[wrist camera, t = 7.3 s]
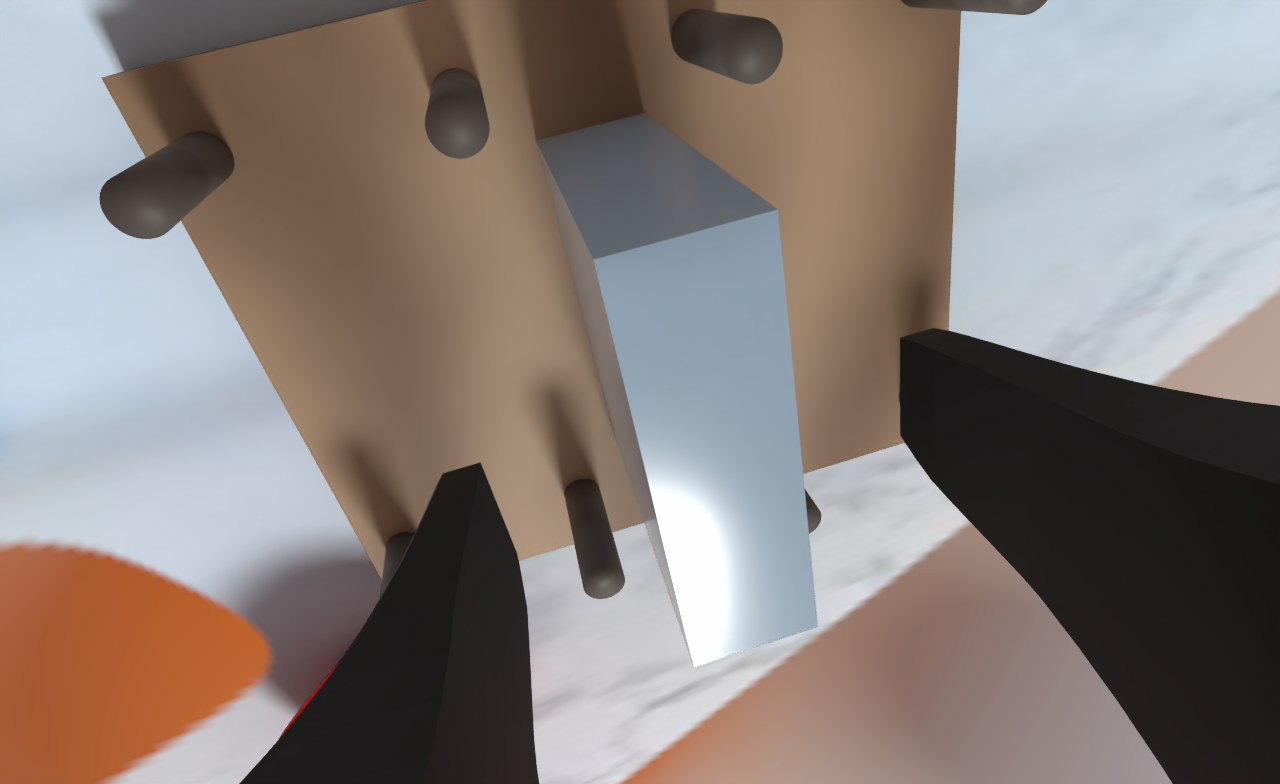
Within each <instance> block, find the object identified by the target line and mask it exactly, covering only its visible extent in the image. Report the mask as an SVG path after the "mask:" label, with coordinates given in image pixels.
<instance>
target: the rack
mask: <svg viewBox="0 0 1280 784" xmlns="http://www.w3.org/2000/svg"><path fill="white" fill-rule="evenodd" d="M1046 1H1047V0H424V1H420V2H416V3H411V4H407V5H403V6H399V7H394V8H390V9H386V10H382V11H378V12H373V13H369V14H365V15H361V16H356V17H352V18H348V19H344V20H339V21H335V22H331V23H327V24H323V25H318V26H314V27H310V28H306V29H301V30H297V31H293V32H289V33H284V34H280V35H276V36H272V37H268V38H263V39H259V40H255V41H251V42H246V43H242V44H238V45H234V46H229V47H225V48H221V49H217V50H213V51H208V52H204V53H200V54H196V55H191V56H187V57H183V58H179V59H174V60H170V61H166V62H162V63H158V64H153V65H149V66H145V67H141V68H136V69H132V70H128V71H124V72H120V73H117V74H113V75H110V76H106V77H103V78H102V80H103V82H104V83H105V85H106V87H107V89H108V90H109V92H110V94H111V96H112V98H113V99H114V101H115V103H116V105H117V107H118V108H119V110H120V112H121V114H122V116H123V117H124V119H125V121H126V123H127V124H128V126H129V128H130V130H131V132H132V133H133V135H134V137H135V139H136V141H137V142H138V144H139V146H140V148H141V150H142V151H143V153H144V155H145V157H146V158H145V159H143V160H141V161H140V162H138V163H136V164H134V165H133V166H131V167H129V168H128V169H126V170H124V171H123V172H121V173H119V174H117V175H116V176H114V177H112V178H111V179H109V180H108V181H107V182H106V183H105V184H104V186H103V187H102V189H101V192H100V205H101V208H102V211H103V213H104V215H105V216H106V218H107V219H108V220H109V222H110V223H111V224H112V225H113V226H115V227H116V228H117V229H118V230H120V231H122V232H123V233H125V234H127V235H130V236H132V237H136V238H142V239H152V238H157V237H160V236H162V235H164V234H165V233H167V232H168V231H169V230H170V229H171V228H173V227H174V226H175V225H176V224H177V223H178V222H179V221H180V220H181V221H182V223H183V225H184V227H185V228H186V230H187V232H188V234H189V236H190V237H191V239H192V241H193V243H194V244H195V246H196V248H197V250H198V252H199V253H200V255H201V257H202V259H203V261H204V262H205V264H206V266H207V268H208V270H209V271H210V273H211V275H212V277H213V278H214V280H215V282H216V284H217V286H218V287H219V289H220V291H221V293H222V295H223V296H224V298H225V300H226V302H227V304H228V305H229V307H230V309H231V311H232V313H233V314H234V316H235V318H236V320H237V321H238V323H239V325H240V327H241V329H242V330H243V332H244V334H245V336H246V338H247V339H248V341H249V343H250V345H251V347H252V348H253V350H254V352H255V354H256V355H257V357H258V359H259V361H260V363H261V364H262V366H263V368H264V370H265V372H266V373H267V375H268V377H269V379H270V381H271V382H272V384H273V386H274V388H275V390H276V391H277V393H278V395H279V397H280V398H281V400H282V402H283V404H284V406H285V407H286V409H287V411H288V413H289V415H290V416H291V418H292V420H293V422H294V424H295V425H296V427H297V429H298V431H299V432H300V434H301V436H302V438H303V440H304V441H305V443H306V445H307V447H308V449H309V450H310V452H311V454H312V456H313V458H314V459H315V461H316V463H317V465H318V467H319V468H320V470H321V472H322V474H323V475H324V477H325V479H326V481H327V483H328V484H329V486H330V488H331V490H332V492H333V493H334V495H335V497H336V499H337V501H338V502H339V504H340V506H341V508H342V509H343V511H344V513H345V515H346V517H347V518H348V520H349V522H350V524H351V526H352V527H353V529H354V531H355V533H356V535H357V536H358V538H359V540H360V542H361V544H362V545H363V547H364V549H365V551H366V552H367V554H368V556H369V558H370V560H371V561H372V563H373V565H374V567H375V569H376V570H377V572H378V574H379V576H380V578H381V579H382V584H381V592H380V598H381V596H382V594H383V592H384V591H385V589H386V587H387V585H388V584H389V582H390V580H391V578H392V577H393V575H394V573H395V571H396V569H397V567H398V565H399V563H400V561H401V559H402V557H403V555H404V553H405V551H406V549H407V547H408V545H409V543H410V541H411V540H412V538H413V536H414V533H415V531H416V529H417V527H418V525H419V523H420V521H421V519H422V516H423V514H424V512H425V510H426V508H427V505H428V503H429V501H430V499H431V497H432V494H433V492H434V490H435V488H436V485H437V483H438V481H439V479H440V478H441V476H442V474H443V473H446V472H449V471H453V470H456V469H459V468H463V467H466V466H470V465H473V464H476V463H480V462H481V465H482V467H483V470H484V472H485V475H486V477H487V480H488V482H489V485H490V487H491V490H492V492H493V494H494V497H495V499H496V502H497V504H498V507H499V509H500V512H501V514H502V517H503V519H504V522H505V524H506V527H507V529H508V532H509V534H510V537H511V539H512V542H513V544H514V547H515V549H516V552H517V555H518V560H519V561H520V560H524V559H527V558H530V557H533V556H537V555H540V554H543V553H546V552H550V551H553V550H556V549H559V548H563V547H566V546H569V545H572V544H574V545H575V549H576V554H577V559H578V564H579V569H580V573H581V578H582V583H583V588H584V591H585V593H586V594H587V595H589V596H590V597H592V598H596V599H604V598H609V597H611V596H614V595H615V594H617V593H618V592H619V591H620V590H621V589H622V588H623V586H624V583H625V577H624V574H623V570H622V566H621V563H620V559H619V556H618V552H617V549H616V545H615V541H614V538H613V534H612V532H615V531H618V530H621V529H625V528H628V527H631V526H634V525H638V524H641V523H644V521H643V518H642V515H641V512H640V509H639V506H638V503H637V500H636V497H635V494H634V492H633V489H632V486H631V483H630V480H629V477H628V474H627V471H626V468H625V465H624V462H623V460H622V457H621V454H620V451H619V448H618V445H617V442H616V439H615V435H614V431H613V427H612V424H611V420H610V416H609V412H608V409H607V405H606V401H605V398H604V394H603V390H602V386H601V383H600V379H599V375H598V371H597V368H596V364H595V360H594V356H593V353H592V349H591V345H590V341H589V338H588V334H587V330H586V326H585V323H584V319H583V315H582V311H581V308H580V304H579V300H578V296H577V293H576V289H575V285H574V281H573V278H572V274H571V270H570V267H569V263H568V259H567V255H566V252H565V248H564V244H563V240H562V237H561V233H560V229H559V225H558V222H557V218H556V214H555V210H554V207H553V203H552V199H551V195H550V192H549V188H548V184H547V180H546V177H545V173H544V169H543V165H542V162H541V158H540V154H539V150H538V147H537V143H536V141H537V140H541V139H544V138H548V137H552V136H556V135H560V134H564V133H568V132H572V131H576V130H580V129H583V128H587V127H591V126H595V125H599V124H603V123H607V122H611V121H615V120H619V119H622V118H626V117H630V116H634V115H638V114H642V113H646V114H647V115H649V116H650V117H651V118H653V119H654V120H656V121H657V122H658V123H660V124H661V125H662V126H664V127H665V128H667V129H668V130H669V131H671V132H672V133H673V134H675V135H676V136H678V137H679V138H680V139H682V140H683V141H684V142H686V143H687V144H689V145H690V146H691V147H693V148H694V149H695V150H697V151H698V152H700V153H701V154H702V155H704V156H705V157H706V158H708V159H709V160H711V161H712V162H713V163H715V164H716V165H717V166H719V167H720V168H722V169H723V170H724V171H726V172H727V173H728V174H730V175H731V176H733V177H734V178H735V179H737V180H738V181H739V182H741V183H742V184H744V185H745V186H746V187H748V188H749V189H750V190H752V191H753V192H755V193H756V194H757V195H759V196H760V197H761V198H763V199H764V200H766V201H767V202H768V203H770V204H771V205H772V206H774V207H775V208H777V209H778V216H779V226H780V237H781V247H782V258H783V268H784V279H785V289H786V300H787V310H788V321H789V331H790V341H791V352H792V362H793V373H794V383H795V394H796V404H797V415H798V425H799V436H800V446H801V457H802V467H803V474H804V473H807V472H811V471H814V470H817V469H820V468H824V467H827V466H830V465H834V464H837V463H840V462H843V461H847V460H850V459H853V458H856V457H860V456H863V455H866V454H869V453H873V452H876V451H879V450H882V449H886V448H889V447H892V446H896V445H899V444H902V443H905V442H904V440H903V439H902V437H901V436H900V338H901V337H904V336H907V335H911V334H914V333H918V332H921V331H924V330H928V329H931V328H938V329H942V330H947V331H948V329H949V303H950V278H951V252H952V226H953V200H954V175H955V149H956V123H957V97H958V72H959V46H960V20H961V11H974V12H988V13H1002V14H1017V15H1026V14H1030V13H1033V12H1035V11H1036V10H1038V9H1039V8H1040V7H1042V6H1043V5H1044V4H1045V2H1046ZM805 498H806V509H807V519H808V530H809V534H810V533H811V532H813V531H814V530H815V529H816V528H817V527H818V525H819V523H820V521H821V512H820V510H819V509H818V507H817V506H816V504H815V503H814V502H813V500H812V499H811V497H810V496H809V494H808V493H807V491H806V490H805Z"/></svg>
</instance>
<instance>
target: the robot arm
mask: <svg viewBox="0 0 1280 784" xmlns="http://www.w3.org/2000/svg"><path fill="white" fill-rule="evenodd" d="M900 436H901V437H902V439H903V440H904V442H905V443H906V445H907V446H908V448H909V449H910V451H911V452H912V454H913V455H914V457H915V458H916V460H917V461H918V462H919V464H920V465H921V466H922V468H923V469H924V471H925V472H926V473H927V475H928V476H929V477H930V479H931V480H932V481H933V482H934V483H935V485H936V486H937V487H938V488H939V489H940V490H941V491H942V492H943V493H944V494H945V496H946V497H947V498H948V499H949V500H950V501H951V502H952V503H953V504H954V505H955V506H956V507H957V508H958V509H959V511H960V512H961V513H962V514H963V515H964V516H965V517H966V518H967V519H968V520H969V521H970V522H971V523H972V524H973V525H974V526H975V527H976V528H977V530H979V532H980V533H981V534H982V535H983V536H984V537H985V538H986V539H987V540H988V541H989V542H990V543H991V544H992V545H993V546H994V547H995V548H996V550H998V552H999V553H1000V554H1001V555H1002V556H1003V557H1004V558H1005V559H1006V560H1007V561H1008V562H1009V563H1010V564H1011V565H1012V566H1013V567H1014V568H1015V569H1016V571H1017V572H1018V573H1019V574H1020V575H1021V576H1022V577H1023V578H1024V579H1025V580H1026V582H1028V584H1029V585H1030V586H1031V587H1032V588H1033V590H1034V591H1035V592H1036V593H1037V594H1038V595H1039V596H1040V598H1041V599H1042V600H1043V602H1044V603H1045V604H1046V605H1047V607H1048V608H1049V609H1050V611H1051V612H1052V613H1053V615H1054V616H1055V617H1056V618H1057V619H1058V621H1059V622H1060V624H1061V625H1062V626H1063V628H1064V629H1065V630H1066V631H1067V633H1068V634H1069V635H1070V637H1071V638H1072V639H1073V640H1074V642H1075V643H1076V644H1077V646H1078V647H1079V648H1080V650H1081V651H1082V653H1083V654H1084V655H1085V657H1086V658H1087V660H1088V661H1089V662H1090V664H1091V665H1092V666H1093V668H1094V669H1095V671H1096V672H1097V673H1098V675H1099V676H1100V677H1101V679H1102V680H1103V682H1104V683H1105V684H1106V686H1107V687H1108V688H1109V690H1110V691H1111V693H1112V694H1113V695H1114V697H1115V698H1116V699H1117V701H1118V702H1119V704H1120V705H1121V707H1122V708H1123V710H1124V711H1125V713H1126V714H1127V716H1128V717H1129V719H1130V720H1131V722H1132V723H1133V724H1134V726H1135V728H1136V729H1137V731H1138V732H1139V733H1140V735H1141V736H1142V738H1143V739H1144V741H1145V742H1146V744H1147V745H1148V747H1149V748H1150V750H1151V751H1152V753H1153V754H1154V756H1155V757H1156V759H1157V760H1158V761H1159V763H1160V765H1161V766H1162V768H1163V769H1164V770H1165V772H1166V774H1167V775H1168V777H1169V779H1170V780H1171V782H1172V783H1173V784H1280V406H1276V405H1267V404H1259V403H1251V402H1243V401H1237V400H1230V399H1223V398H1217V397H1211V396H1206V395H1200V394H1194V393H1189V392H1184V391H1178V390H1172V389H1167V388H1162V387H1157V386H1152V385H1148V384H1143V383H1138V382H1134V381H1130V380H1126V379H1122V378H1118V377H1113V376H1109V375H1105V374H1101V373H1097V372H1093V371H1089V370H1085V369H1082V368H1078V367H1074V366H1070V365H1067V364H1063V363H1060V362H1056V361H1052V360H1049V359H1045V358H1042V357H1039V356H1035V355H1032V354H1028V353H1025V352H1021V351H1018V350H1015V349H1011V348H1008V347H1005V346H1001V345H998V344H994V343H991V342H988V341H984V340H981V339H977V338H974V337H970V336H967V335H963V334H959V333H955V332H951V331H947V330H942V329H938V328H931V329H928V330H924V331H921V332H918V333H914V334H911V335H907V336H904V337H901V338H900ZM240 784H539V780H538V773H537V765H536V755H535V744H534V730H533V709H532V689H531V669H530V650H529V631H528V614H527V605H526V599H525V593H524V587H523V582H522V576H521V571H520V565H519V560H518V555H517V552H516V549H515V547H514V544H513V542H512V539H511V537H510V534H509V532H508V529H507V527H506V524H505V522H504V519H503V517H502V514H501V512H500V509H499V507H498V504H497V502H496V499H495V497H494V494H493V492H492V490H491V487H490V485H489V482H488V480H487V477H486V475H485V472H484V470H483V467H482V465H481V462H480V463H476V464H473V465H470V466H466V467H463V468H459V469H456V470H453V471H449V472H446V473H443V474H442V476H441V478H440V479H439V481H438V483H437V485H436V488H435V490H434V492H433V494H432V497H431V499H430V501H429V503H428V505H427V508H426V510H425V512H424V514H423V516H422V519H421V521H420V523H419V525H418V527H417V529H416V531H415V533H414V536H413V538H412V540H411V541H410V543H409V545H408V547H407V549H406V551H405V553H404V555H403V557H402V559H401V561H400V563H399V565H398V567H397V569H396V571H395V573H394V575H393V577H392V578H391V580H390V582H389V584H388V585H387V587H386V589H385V591H384V592H383V594H382V596H381V598H380V599H379V601H378V603H377V604H376V606H375V608H374V610H373V611H372V613H371V615H370V617H369V618H368V620H367V622H366V623H365V625H364V626H363V628H362V630H361V631H360V633H359V634H358V636H357V637H356V639H355V640H354V642H353V643H352V645H351V646H350V648H349V650H348V651H347V652H346V654H345V655H344V657H343V658H342V659H341V661H340V662H339V664H338V665H337V667H336V668H335V669H334V671H333V672H332V674H331V675H330V676H329V678H328V679H327V680H326V682H325V683H324V684H323V686H322V687H321V688H320V689H319V691H318V692H317V693H316V694H315V696H314V697H313V698H312V699H311V701H310V702H309V703H308V704H307V705H306V707H305V708H304V709H303V710H302V712H301V713H300V714H299V715H298V717H297V718H296V719H295V720H294V721H293V723H292V724H291V725H290V726H289V728H288V729H287V730H286V731H285V733H284V734H283V735H282V736H281V737H280V739H279V740H278V741H277V742H276V744H275V745H274V746H273V747H272V748H271V749H270V750H269V752H268V753H267V754H266V755H265V756H264V757H263V758H262V759H261V760H260V762H259V763H258V764H257V765H256V766H255V767H254V768H253V769H252V770H251V772H250V773H249V774H248V775H247V776H246V777H245V778H244V779H243V780H242V781H241V783H240Z"/></svg>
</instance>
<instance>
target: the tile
mask: <svg viewBox="0 0 1280 784" xmlns="http://www.w3.org/2000/svg"><path fill="white" fill-rule="evenodd" d="M536 143H537V147H538V150H539V154H540V158H541V162H542V165H543V169H544V173H545V177H546V180H547V184H548V188H549V192H550V195H551V199H552V203H553V207H554V210H555V214H556V218H557V222H558V225H559V229H560V233H561V237H562V240H563V244H564V248H565V252H566V255H567V259H568V263H569V267H570V270H571V274H572V278H573V281H574V285H575V289H576V293H577V296H578V300H579V304H580V308H581V311H582V315H583V319H584V323H585V326H586V330H587V334H588V338H589V341H590V345H591V349H592V353H593V356H594V360H595V364H596V368H597V371H598V375H599V379H600V383H601V386H602V390H603V394H604V398H605V401H606V405H607V409H608V412H609V416H610V420H611V424H612V427H613V431H614V435H615V439H616V442H617V445H618V448H619V451H620V454H621V457H622V460H623V462H624V465H625V468H626V471H627V474H628V477H629V480H630V483H631V486H632V489H633V492H634V494H635V497H636V500H637V503H638V506H639V509H640V512H641V515H642V518H643V521H644V524H645V527H646V529H647V532H648V535H649V538H650V541H651V544H652V547H653V550H654V553H655V556H656V559H657V561H658V564H659V567H660V570H661V573H662V576H663V579H664V582H665V585H666V588H667V591H668V593H669V596H670V599H671V602H672V605H673V608H674V611H675V614H676V617H677V620H678V623H679V625H680V628H681V631H682V634H683V637H684V640H685V643H686V646H687V649H688V652H689V655H690V658H691V660H692V663H693V666H694V667H696V666H699V665H702V664H706V663H709V662H712V661H715V660H718V659H721V658H724V657H727V656H730V655H733V654H736V653H739V652H742V651H745V650H748V649H752V648H755V647H758V646H761V645H764V644H767V643H770V642H773V641H776V640H779V639H782V638H785V637H788V636H791V635H794V634H798V633H801V632H804V631H807V630H810V629H813V628H816V627H818V624H817V614H816V603H815V593H814V582H813V572H812V561H811V551H810V540H809V530H808V519H807V509H806V498H805V488H804V478H803V467H802V457H801V446H800V436H799V425H798V415H797V404H796V394H795V383H794V373H793V362H792V352H791V341H790V331H789V321H788V310H787V300H786V289H785V279H784V268H783V258H782V247H781V237H780V226H779V216H778V209H777V208H775V207H774V206H772V205H771V204H770V203H768V202H767V201H766V200H764V199H763V198H761V197H760V196H759V195H757V194H756V193H755V192H753V191H752V190H750V189H749V188H748V187H746V186H745V185H744V184H742V183H741V182H739V181H738V180H737V179H735V178H734V177H733V176H731V175H730V174H728V173H727V172H726V171H724V170H723V169H722V168H720V167H719V166H717V165H716V164H715V163H713V162H712V161H711V160H709V159H708V158H706V157H705V156H704V155H702V154H701V153H700V152H698V151H697V150H695V149H694V148H693V147H691V146H690V145H689V144H687V143H686V142H684V141H683V140H682V139H680V138H679V137H678V136H676V135H675V134H673V133H672V132H671V131H669V130H668V129H667V128H665V127H664V126H662V125H661V124H660V123H658V122H657V121H656V120H654V119H653V118H651V117H650V116H649V115H647V114H646V113H642V114H638V115H634V116H630V117H626V118H622V119H619V120H615V121H611V122H607V123H603V124H599V125H595V126H591V127H587V128H583V129H580V130H576V131H572V132H568V133H564V134H560V135H556V136H552V137H548V138H544V139H541V140H537V141H536Z"/></svg>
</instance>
